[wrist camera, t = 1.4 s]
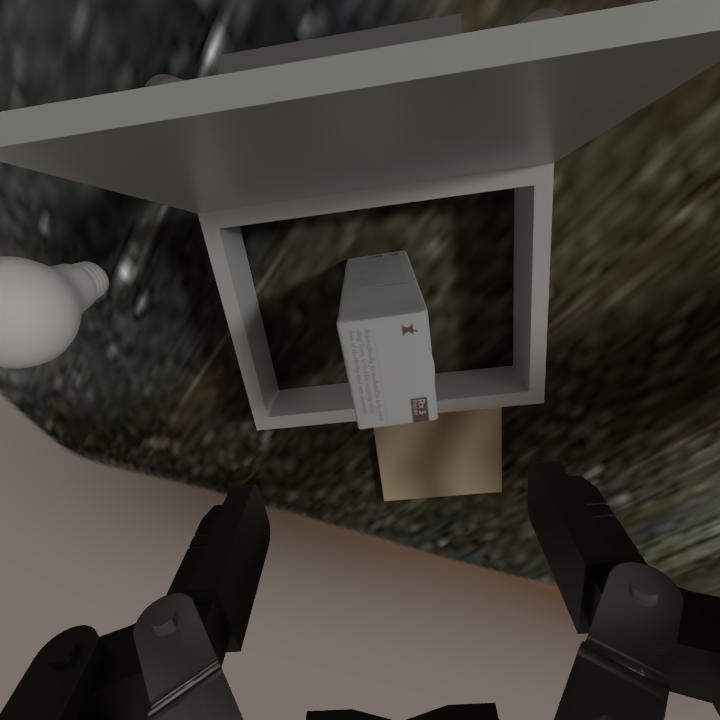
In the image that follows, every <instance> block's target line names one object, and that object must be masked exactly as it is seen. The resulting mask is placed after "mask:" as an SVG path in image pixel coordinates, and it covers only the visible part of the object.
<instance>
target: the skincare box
mask: <svg viewBox="0 0 720 720" xmlns="http://www.w3.org/2000/svg"><path fill="white" fill-rule="evenodd" d="M336 325H337V330H338V334H339V339H340V344H341V348H342V353H343V358H344V363H345V367H346V372H347V377H348V382H349V387H350V392H351V397H352V402H353V406H354V411H355V416H356V420H357V424H358V429H367V428H375V427H384V426H392V425H399V424H408V423H415V422H423V421H433V420H436V419H437V418H438V412H437V402H436V391H435V381H434V380H435V368H434V361H433V357H432V349H431V339H430V329H429V321H428V312H427V308H426V305H425V302H424V299H423V296H422V294H421V291H420V289H419V286H418V284H417V281H416V278H415V275H414V272H413V269H412V267H411V264H410V261H409V258H408V256H407V253H406V252H405V251H397V252H390V253H383V254H377V255H370V256H363V257H357V258H351V259H348V260H347V262H346V267H345V275H344V281H343V287H342V293H341V300H340V307H339V315H338V319H337V323H336Z"/></svg>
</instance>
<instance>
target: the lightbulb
mask: <svg viewBox="0 0 720 720" xmlns="http://www.w3.org/2000/svg"><path fill="white" fill-rule="evenodd" d="M108 286H109V281H108V277H107V275H106V273H105V272H104V270H103V269H102V268H101V267H99V266H98V265H97V264H95V263H92V262H88V261H84V262H78V263H75V264H60V265H56V266H47V265H45V264H42V263H39V262H36V261H33V260H30V259H26V258H21V257H16V256H0V367H3V368H27V367H32V366H37V365H40V364H43V363H46V362H48V361H50V360H52V359H54V358H56V357H57V356H59V355H60V354H61V353H62V352H64V351H65V350H66V349H67V348H68V346H69V345H70V344H71V343H72V341H73V340H74V338H75V337H76V334H77V332H78V329H79V325H80V322H81V314H82V313H83V312H84V311H85V310H86V309H88V308H89V307H90V306H91V305H92V304H93V303H94V301H95V300H96V299H97V298H99V297H100V296H102V295H103V294H104V293H105V292H106V291H107V289H108Z"/></svg>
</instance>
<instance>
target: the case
mask: <svg viewBox="0 0 720 720" xmlns="http://www.w3.org/2000/svg"><path fill="white" fill-rule="evenodd" d="M553 177H554V163H549V164H542V165H535V166H528V167H521V168H514V169H507V170H500V171H492V172H485V173H478V174H471V175H464V176H457V177H450V178H443V179H436V180H429V181H422V182H415V183H408V184H401V185H394V186H387V187H380V188H373V189H366V190H358V191H351V192H344V193H337V194H330V195H323V196H316V197H309V198H302V199H295V200H288V201H281V202H274V203H267V204H260V205H253V206H246V207H239V208H232V209H225V210H217V211H210V212H203V213H198V217H199V221H200V224H201V228H202V231H203V235H204V239H205V242H206V246H207V250H208V253H209V257H210V261H211V264H212V268H213V272H214V275H215V279H216V283H217V286H218V290H219V293H220V297H221V301H222V304H223V308H224V312H225V315H226V319H227V323H228V326H229V330H230V334H231V337H232V341H233V344H234V348H235V352H236V355H237V359H238V363H239V366H240V370H241V374H242V377H243V381H244V385H245V388H246V392H247V395H248V399H249V403H250V406H251V410H252V414H253V417H254V421H255V425H256V428H257V430H267V429H278V428H288V427H298V426H309V425H319V424H330V423H340V422H351V421H357V420H356V416H355V411H354V406H353V402H352V397H351V392H350V387H349V383H340V384H331V385H321V386H312V387H302V388H292V389H283V390H279V388H278V384H277V380H276V376H275V371H274V367H273V363H272V359H271V355H270V350H269V346H268V342H267V338H266V334H265V330H264V325H263V321H262V317H261V313H260V309H259V305H258V300H257V296H256V292H255V288H254V284H253V280H252V275H251V271H250V267H249V263H248V259H247V254H246V250H245V246H244V242H243V238H242V234H241V229H240V226H242V225H249V224H257V223H264V222H271V221H278V220H286V219H293V218H300V217H307V216H315V215H322V214H329V213H336V212H344V211H351V210H358V209H365V208H373V207H380V206H387V205H394V204H402V203H409V202H416V201H423V200H431V199H438V198H445V197H452V196H460V195H467V194H474V193H481V192H488V191H496V190H503V189H510V188H514V298H513V366H504V367H495V368H485V369H476V370H466V371H456V372H447V373H437V374H435V380H434V381H435V391H436V402H437V412H438V413H445V412H455V411H465V410H476V409H486V408H497V407H507V406H518V405H528V404H538V403H544V394H545V370H546V346H547V322H548V298H549V274H550V249H551V225H552V201H553Z"/></svg>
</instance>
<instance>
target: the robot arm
mask: <svg viewBox="0 0 720 720" xmlns="http://www.w3.org/2000/svg"><path fill="white" fill-rule="evenodd" d="M528 511H529V516H530V520H531V523H532V526H533V528H534V531H535V533H536V535H537V538H538V540H539V542H540V545H541V547H542V550H543V552H544V554H545V557H546V559H547V561H548V564H549V566H550V569H551V571H552V573H553V576H554V578H555V580H556V583H557V585H558V587H559V590H560V592H561V595H562V597H563V599H564V602H565V604H566V606H567V609H568V611H569V614H570V616H571V618H572V621H573V623H574V625H575V628H576V630H577V633H578V634H582V633H583V634H584V633H589V634H588V637H587V639H586V641H585V642H584V641H583V642H582V643H581V645H580V647H579V650H578V653H577V655H576V658H575V661H574V664H573V667H572V669H571V672H570V675H569V678H568V681H567V683H566V686H565V690H564V692H563V695H562V698H561V701H560V703H559V706H558V709H557V712H556V715H555V718H554V720H664V718H665V712H666V706H667V701H668V694H669V691H670V692H674V693H678V694H681V695H685V696H688V697H692V698H696V699H699V700H703V701H706V702H710V703H713V705H714V706H715V709H716V710H717V712H718V714H719V715H720V597H716V596H711V595H706V594H701V593H696V592H692V591H688V590H685V589H682V588H679V587H678V586H677V585H676V584H675V582H674V581H673V580H672V579H671V578H669V577H668V576H667V575H666V574H664V573H663V572H661V571H659V570H658V569H656V568H654V567H651V566H649V565H648V564H647V563H646V562H645V560H644V559H643V557H642V556H641V554H640V553H639V551H638V550H637V548H636V547H635V545H634V544H633V542H632V541H631V539H630V538H629V536H628V534H627V533H626V531H625V530H624V528H623V527H622V525H621V524H620V522H619V521H618V519H617V518H616V517H615V516H614V513H613V512H612V510H611V509H610V507H609V506H608V505H607V504H606V501H605V500H604V498H603V497H602V495H601V494H600V492H599V490H598V489H597V487H595V486H594V485H593V484H591V483H590V482H589V481H587V480H586V479H585V478H583V477H582V476H568V474H567V472H566V471H565V469H564V467H563V466H562V464H561V462H560V461H559V460H558V459H549V460H538V461H530V463H529V472H528ZM269 542H270V524H269V520H268V516H267V513H266V509H265V506H264V502H263V499H262V495H261V492H260V489H259V487H258V485H256V484H255V485H244V486H233V487H231V488H230V490H229V492H228V494H227V497H226V499H225V501H224V504H223V505H216V506H214V507H213V508H212V509H211V510H210V511H209V512H208V513H207V514H206V515H205V516H204V517H203V518H202V520H201V522H200V524H199V526H198V529H197V531H196V533H195V537H194V538H193V539H192V541H191V544H190V548H189V549H188V550H187V552H186V554H185V557H184V559H183V561H182V563H181V565H180V567H179V569H178V571H177V574H176V576H175V578H174V580H173V582H172V584H171V586H170V589H169V591H168V593H167V595H166V596H164V597H162V598H160V599H158V600H156V601H155V602H153V603H152V604H151V605H149V606H148V607H147V608H146V609H145V610H144V611H143V613H142V614H141V615H140V617H139V618H138V620H137V622H136V623H135V624H133V625H131V626H128V627H126V628H123V629H120V630H117V631H114V632H112V633H109V634H106V635H103V636H101V637H99V636H98V634H97V632H96V631H95V629H94V628H92V627H90V626H86V625H83V626H76V627H72V628H70V629H67V630H65V631H64V632H62V633H60V634H58V635H57V636H55V637H54V638H53V639H51V640H50V641H49V642H48V643H47V644H46V645H45V646H44V647H43V648H42V649H41V650H40V652H38V654H37V655H36V657H35V658H34V660H33V661H32V663H31V665H30V666H29V668H28V670H27V671H26V673H25V674H24V676H23V678H22V679H21V681H20V682H19V684H18V686H17V687H16V689H15V691H14V692H13V694H12V695H11V697H10V699H9V701H8V702H7V704H6V705H5V707H4V708H3V710H2V712H1V713H0V720H243V718H242V716H241V713H240V710H239V708H238V706H237V703H236V701H235V699H234V696H233V694H232V692H231V689H230V687H229V684H228V682H227V680H226V677H225V675H224V673H223V670H222V668H221V667H222V663H223V660H224V657H225V653H226V652H238V651H241V648H242V644H243V640H244V636H245V632H246V629H247V625H248V621H249V618H250V614H251V610H252V606H253V603H254V599H255V595H256V591H257V588H258V584H259V580H260V577H261V573H262V569H263V565H264V561H265V558H266V554H267V550H268V547H269ZM306 720H391V719H387V718H383V717H379V716H375V715H372V714H368V713H364V712H360V711H356V710H353V709H348V710H326V711H307V715H306ZM407 720H499V719H498V714H497V710H496V705H495V703H485V704H484V703H483V704H462V705H461V704H460V705H446V706H444V707H441V708H438V709H435V710H432V711H430V712H427V713H424V714H421V715H418V716H416V717H413V718H410V719H407Z"/></svg>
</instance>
